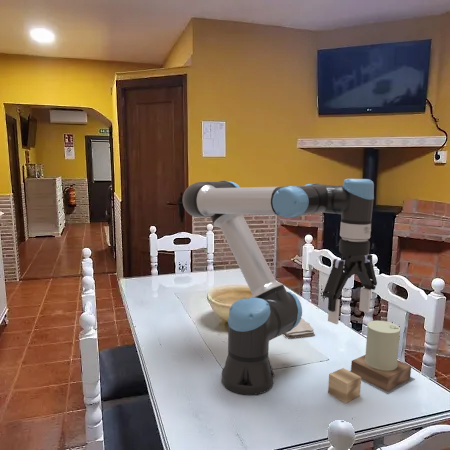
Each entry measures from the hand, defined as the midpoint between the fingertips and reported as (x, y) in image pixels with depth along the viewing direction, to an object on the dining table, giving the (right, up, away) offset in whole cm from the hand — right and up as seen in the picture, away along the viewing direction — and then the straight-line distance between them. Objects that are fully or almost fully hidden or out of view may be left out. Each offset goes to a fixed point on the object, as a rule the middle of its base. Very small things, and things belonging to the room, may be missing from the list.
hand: (349, 316), depth 109 cm
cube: (-1, -22, +3) cm, 23 cm away
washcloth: (-8, -16, +48) cm, 51 cm away
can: (+13, -17, +12) cm, 25 cm away
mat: (+13, -21, +13) cm, 28 cm away
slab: (+13, -21, +13) cm, 28 cm away
